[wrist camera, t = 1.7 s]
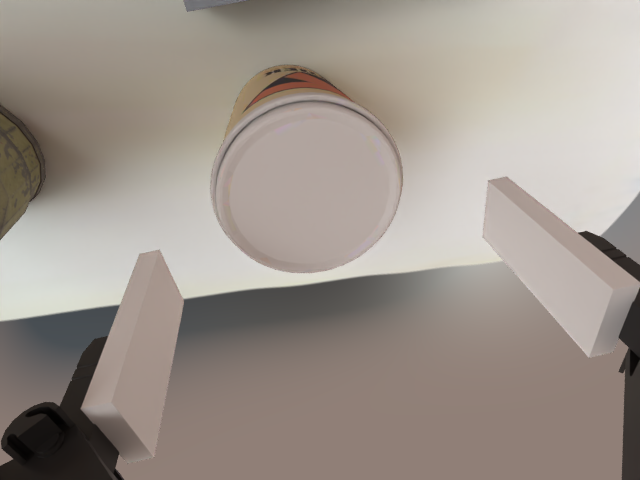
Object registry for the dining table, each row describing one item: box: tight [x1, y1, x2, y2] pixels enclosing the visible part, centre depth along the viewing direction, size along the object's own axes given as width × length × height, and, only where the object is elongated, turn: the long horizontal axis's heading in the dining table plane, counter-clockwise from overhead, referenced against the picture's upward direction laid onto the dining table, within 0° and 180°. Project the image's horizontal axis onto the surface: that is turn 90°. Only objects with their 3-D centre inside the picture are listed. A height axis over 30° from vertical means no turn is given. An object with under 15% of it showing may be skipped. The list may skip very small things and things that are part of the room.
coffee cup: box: [211, 65, 403, 273], centre depth 24 cm, size 9×9×12 cm
